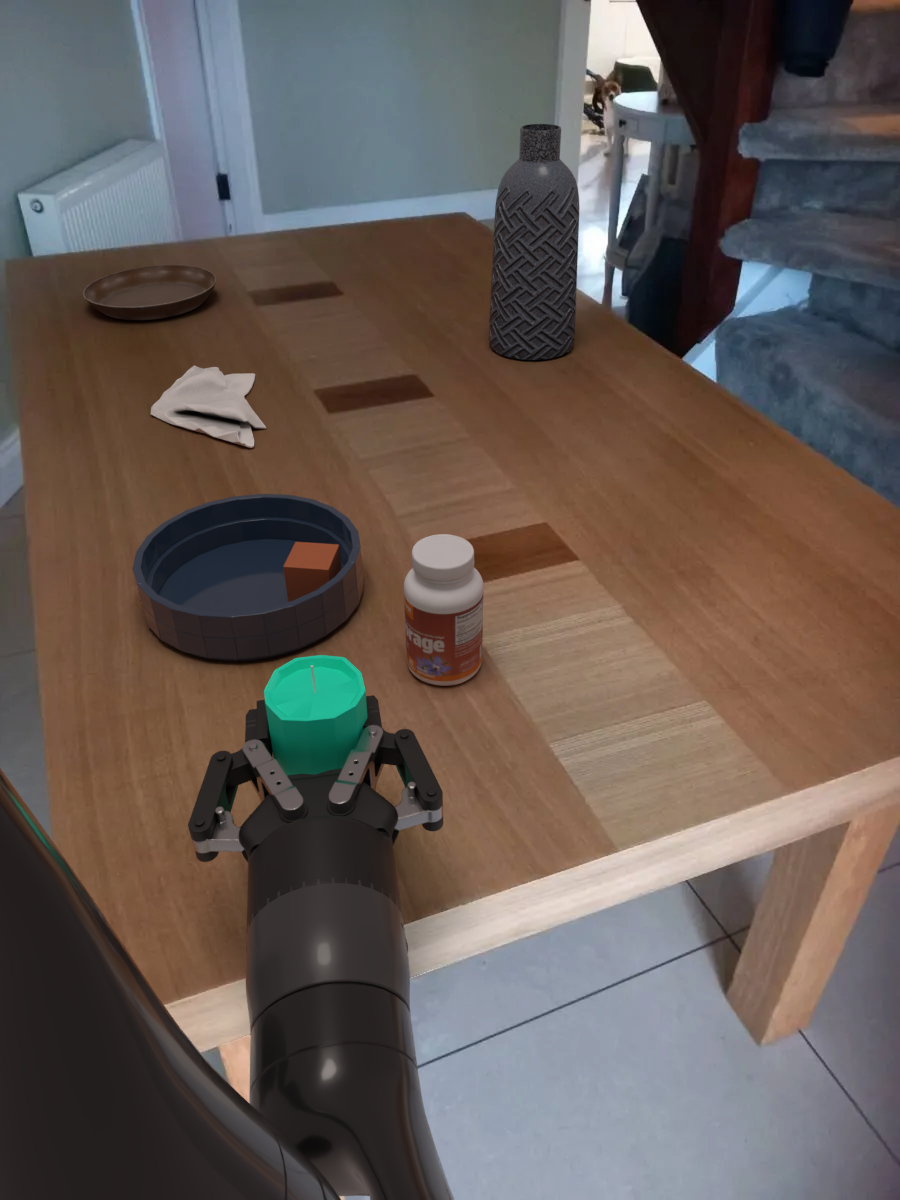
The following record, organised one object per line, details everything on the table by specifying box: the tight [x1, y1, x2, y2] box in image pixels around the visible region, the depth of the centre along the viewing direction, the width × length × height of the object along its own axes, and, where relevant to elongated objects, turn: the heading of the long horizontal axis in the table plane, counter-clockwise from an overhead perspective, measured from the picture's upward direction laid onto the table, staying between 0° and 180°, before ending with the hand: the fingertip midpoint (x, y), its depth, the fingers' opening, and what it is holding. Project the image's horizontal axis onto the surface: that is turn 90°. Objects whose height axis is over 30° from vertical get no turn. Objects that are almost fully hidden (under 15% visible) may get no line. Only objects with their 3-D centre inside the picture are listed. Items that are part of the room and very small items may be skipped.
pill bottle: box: [403, 533, 485, 687], centre depth 72 cm, size 6×6×11 cm
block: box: [283, 542, 341, 602], centre depth 81 cm, size 4×4×4 cm
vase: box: [488, 123, 580, 361], centre depth 123 cm, size 12×12×28 cm
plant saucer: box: [82, 264, 217, 321], centre depth 147 cm, size 21×21×3 cm
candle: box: [263, 654, 367, 776], centre depth 56 cm, size 6×6×12 cm
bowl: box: [132, 493, 365, 662], centre depth 82 cm, size 19×19×5 cm
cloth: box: [150, 364, 267, 449], centre depth 115 cm, size 26×14×2 cm, turn 13°
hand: (312, 705), depth 58 cm, fingers closed on candle, 5 cm apart
